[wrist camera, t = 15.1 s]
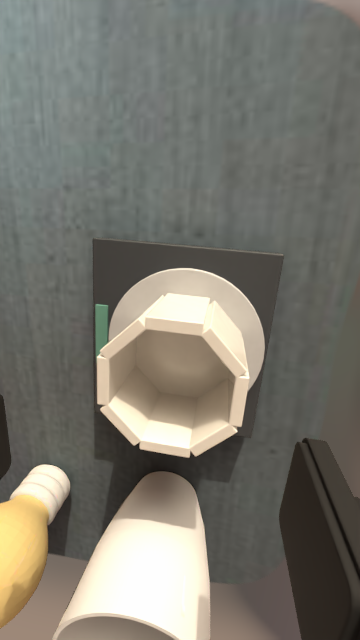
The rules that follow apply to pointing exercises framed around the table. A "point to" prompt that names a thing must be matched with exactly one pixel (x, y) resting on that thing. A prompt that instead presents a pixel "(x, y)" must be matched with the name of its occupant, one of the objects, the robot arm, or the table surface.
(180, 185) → the table surface
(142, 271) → the scale
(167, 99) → the table surface
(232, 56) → the table surface
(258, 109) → the table surface
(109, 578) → the cup
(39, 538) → the light bulb
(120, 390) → the bowl
